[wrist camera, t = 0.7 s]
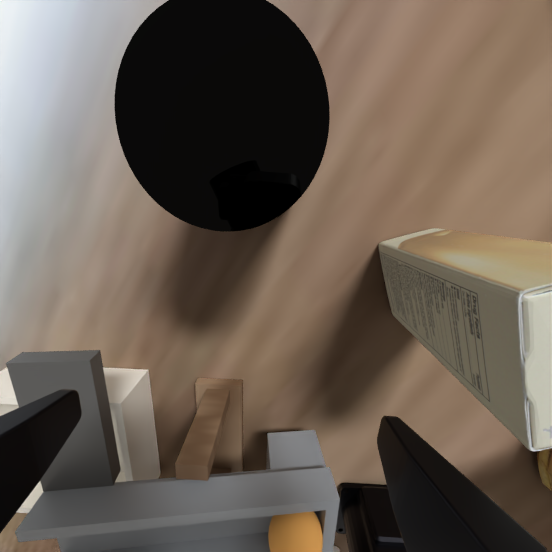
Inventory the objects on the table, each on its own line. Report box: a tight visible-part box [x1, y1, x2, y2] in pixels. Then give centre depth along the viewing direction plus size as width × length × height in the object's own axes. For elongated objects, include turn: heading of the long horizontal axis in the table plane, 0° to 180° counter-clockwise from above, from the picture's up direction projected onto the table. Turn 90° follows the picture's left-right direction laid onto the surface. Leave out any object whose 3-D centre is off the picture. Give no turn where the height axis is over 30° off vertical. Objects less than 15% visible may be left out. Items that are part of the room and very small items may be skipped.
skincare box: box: [379, 228, 552, 452], centre depth 14 cm, size 6×4×12 cm
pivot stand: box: [175, 378, 243, 481], centre depth 21 cm, size 4×11×8 cm, turn 178°
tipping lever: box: [6, 350, 340, 552], centre depth 17 cm, size 18×16×6 cm
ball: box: [268, 511, 323, 552], centre depth 17 cm, size 4×4×4 cm
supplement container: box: [115, 0, 329, 231], centre depth 13 cm, size 7×7×10 cm
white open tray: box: [0, 368, 161, 513], centre depth 23 cm, size 12×12×4 cm
